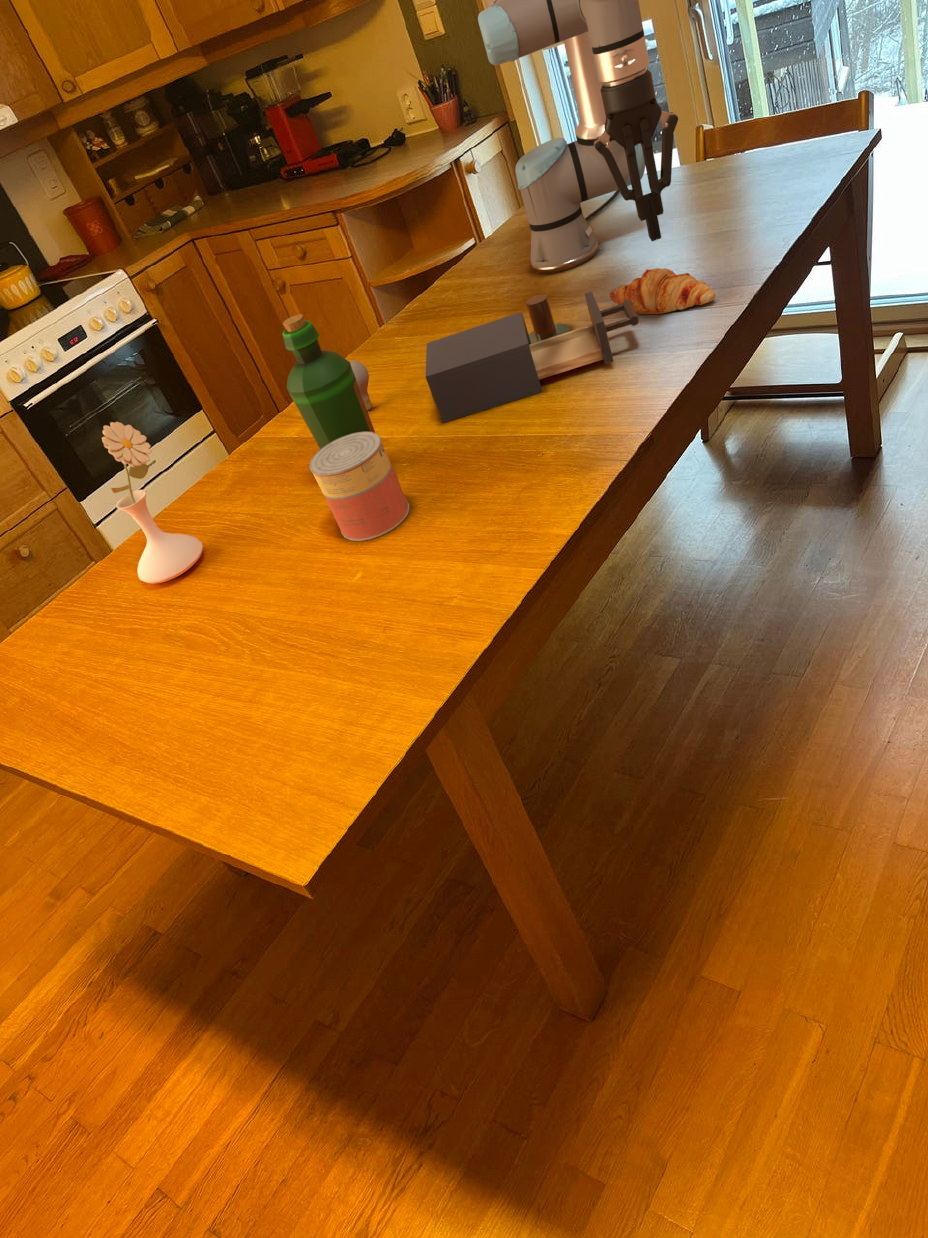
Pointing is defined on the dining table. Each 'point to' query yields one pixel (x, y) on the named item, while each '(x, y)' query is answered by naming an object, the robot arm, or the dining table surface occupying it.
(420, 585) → the dining table surface
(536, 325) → the lid
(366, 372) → the light bulb
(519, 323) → the cabinet
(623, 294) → the croissant
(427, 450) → the dining table surface
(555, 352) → the drawer
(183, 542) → the flower in vase
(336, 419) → the bottle
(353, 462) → the canned food
